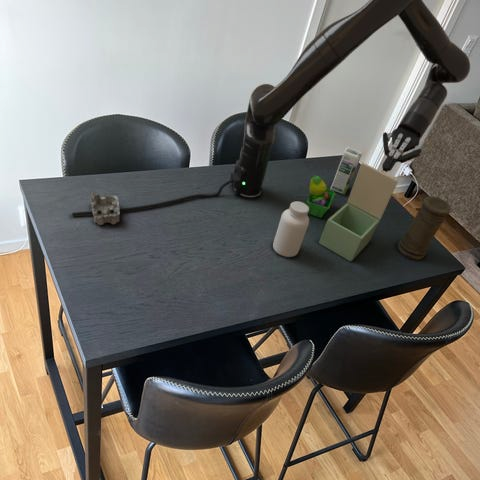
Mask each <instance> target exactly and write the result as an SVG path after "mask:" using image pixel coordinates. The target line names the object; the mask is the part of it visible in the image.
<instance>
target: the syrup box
mask: <svg viewBox="0 0 480 480" xmlns="http://www.w3.org/2000/svg"><path fill="white" fill-rule="evenodd" d="M362 155H363V151H360V150H357V149H355V148H352V147H350V146H347V147H346V148H345V150H344V152H343V154H342V157H341V159H340V162H339V165H338V168H337V170H336V173H335V176H334V178H333V180H332V183H331V186H330V188H329V190H332V191H334V192H335V193H338V194H341V195H344V196H345V195H346V193H347V191H348V189H349V187H350V184H351V182H352V179H353V178H354V174H355V172H356V170H357V167H358V165H359V163H360V160H361V158H362Z"/></svg>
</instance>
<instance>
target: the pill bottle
mask: <svg viewBox="0 0 480 480" xmlns="http://www.w3.org/2000/svg"><path fill="white" fill-rule="evenodd" d="M308 212H309V208H308V206H307V203H305V202H303V201H297V200H296V201H292V202H291V203H290V205H289V208H287V209H286V210H284V211H283V212H282V213H281V217H280V220H279V223H278V226H277V230H276V233H275V236H274V240H273V243H272V248H273V250H274V252H276V253H277V254H278V255H280V256H282V257H285V258H291V257H295V256H297V255H298V253H299V251H300V249H301V247H302V244H303V241H304V239H305V235H306V233H307V230H308V227H309V224H310V218H309V216H308V215H309V214H308Z"/></svg>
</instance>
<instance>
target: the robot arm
mask: <svg viewBox="0 0 480 480" xmlns="http://www.w3.org/2000/svg"><path fill="white" fill-rule="evenodd" d="M397 16H398V17H399V19H400V20H401V22H402V24H403V25H404V26H405V28H406V30H407V31H408V32H409V34H410V36H411V38H412V39H413V41H414V42H415V44H416V47H418V49H419V51H420V52H421V54H422V55H423V57H424V59H425V60H426V61H427V62H428V63H429V64H431V66H430V69H429V72H428V74H427V77H426V81H425V84H424V86H423V88H422V90H421V91H420V93H419V95H417V98H416V99H415V101H414V102H413V103H412V104H411V106H410V107H409V108H408V110H407V111H406V113H405V115H403V117H402V120H401V121H400V122H399V124H398V125H397V127H396V128H395V129H394V130H392V131H391V132H389V133H387V132H383V133H382V145H383V154H384V156H386V158H385V159H384V161H383V163H382V166H381V168H382V171H383V172H386V173H388V172H390V171H392V169H393V168H394V167H395V165H396V163H401V164H403V163H407V162H408V161H411V160H413V159H416V158H418V157H420V156H421V154H422V148H420V146H419V145H420V141H421V139H422V137H423V136H424V134H425V133H426V132H427V130H428V128H429V127H430V126H431V124H432V122H433V120H434V119H435V117H436V115H437V113H438V111H439V109H440V108H441V107H442V105H443V103H444V102H445V101H446V99H447V97H448V89H447V87H446V86H445V85H444V84H457V83H462V82H463V81H464V80H466V79H467V77H468V76H469V75H470V71H471V62H470V58H469V56H468V55H467V54H466V53H465V51H464V50H463V49H462V48H460V47H459V46H458V45H457V44H455V43H454V42H452V40H451V39H450V38H449V35H448V34H447V32H446V31H445V29H444V28H443V26H442V24H441V23H440V22H439V20H438V19H437V18H436V16H435V15H434V14H433V12H431V10H430V9H429V7H428V6H427V5H426V3H425V2H424V1H423V0H368V1H367V2H366V3H365V4H364V5H362V6H361V8H358V9H357V10H356V11H354V12H352V13H351V14H348V15H346V16H344V17H342V18H340V19H337V20H335V21H333V22H332V23H331V24H329V25H328V26H326V27H325V28H324V29H322V30H321V31H320V32H319V33H318V34H317V35H316V36H315V37H314V38H313V39H312V40H311V41H310V42H309V43H308V44H307V45H306V47H304V49H303V51H302V52H301V54H300V55H299V57H298V58H297V59H296V61H295V63H294V65H293V67H292V68H291V70H290V71H289V72H288V74H287V75H286V76H285V77H284V78H283V79H282V80H281V81H280V82H279V83H278V84H277V85H275V86H274V85H273V84H271V83H263V84H260V85H258V86H256V87H255V88H254V89H253V91H252V92H251V95H250V97H249V102H248V106H247V111H246V115H245V121H244V133H243V139H242V144H241V148H240V154H239V157H238V159H236V161H235V166H234V170H233V172H230V176H229V177H230V178H229V180H228V181H225V182H224V183H223V184H221V186H220V187H219V188H218V190H217V191H216V192H215V193H212V194H203V193H198V194H192V195H187V196H183V197H180V198H175V199H171V200H170V199H169V200H167V201H162V202H161V201H160V202H157V203H151V204H146V205H140V206H139V205H138V206H132V207H123V208H119V209H120V213H123V212H128V211H129V212H130V211H139V210H145V209H150V208H151V209H152V208H155V207H160V206H166V205H170V204H175V203H179V202H183V201H186V200H190V199H195V198H214V197H217V196H219V195H220V194H221V193H222V190H223V189H224V188H225V187H227V186H228V185H229V184H231V188H232V191H233V192H234V193H235V195H236V196H237V197H242V198H245V199H257V198H258V197H260V196H261V193H262V190H263V184H264V181H265V177H266V172H267V169H268V165H269V161H270V157H271V153H272V149H273V146H274V142H275V141H274V140H275V131H276V125H277V124H279V122H280V121H282V120H283V119H284V118H285V117H286V115H287V114H288V113H289V112H290V111H291V110H292V109H293V108H294V107H295V105H296V104H297V103H298V102H299V101H300V100H301V99H302V98H303V97H304V96H306V95H307V94H308V93H309V92H310V91H311V90H313V89H314V88H315V86H317V85H318V84H319V83H320V82H321V81H322V80H323V79H325V78H326V77H327V76H328V75H329V74H330V73H332V72H333V71H334V70H335V69H336V68H337V67H338V66H339V65H340V64H341V63H342V62H344V61H345V60H346V59H347V58H348V57H349V56H350V55H351V54H352V53H353V52H355V50H357V49H358V48H359V47H361V45H363V44H364V43H365V42H366V41H367V40H368V39H369V38H370V37H371V36H373V35H374V34H375V33H376V32H377V31H378V30H380V29H381V28H382V27H384V26H385V25H387V24H388V23H389V22H391V21H392V20H393V19H395V18H396V17H397ZM390 141H391V144H392V147H391V149H390V148H389V142H390ZM405 153H406V154H405ZM113 212H114V209H111V210H110V213H113ZM98 214H102V210H99V211H98ZM71 215H72V216H73V217H77V216H89V215H93V212H92V210H89V211H88V210H87V211H77V212H72V213H71Z"/></svg>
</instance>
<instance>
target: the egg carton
mask: <svg viewBox="0 0 480 480" xmlns="http://www.w3.org/2000/svg"><path fill="white" fill-rule="evenodd" d="M90 195H91V201H90V203H91V211H92V212H93V214H92V216H93V222H94V223H95V224H98V225H99V226H101V225H102V226H103V225H104V224H105V223H109V224H111V225H116V224H117V223H120V214H121V212H120V209H121V208H120V203H119V197H118V196H116V195H111V194H110V195H107V194H105V195H104V196H100V194H99V193H94V192H91V194H90ZM111 209H114V212H113V213H110V210H111ZM99 210H102V214H98V211H99Z"/></svg>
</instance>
